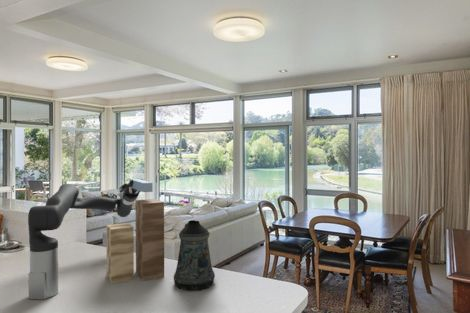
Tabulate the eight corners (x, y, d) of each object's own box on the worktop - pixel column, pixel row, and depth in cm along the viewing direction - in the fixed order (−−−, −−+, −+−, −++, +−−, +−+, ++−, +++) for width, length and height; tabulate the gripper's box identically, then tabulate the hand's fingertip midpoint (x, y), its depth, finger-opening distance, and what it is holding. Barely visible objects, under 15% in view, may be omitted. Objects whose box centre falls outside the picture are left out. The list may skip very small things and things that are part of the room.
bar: (152, 191, 149) (152, 182, 149) (143, 192, 147) (143, 183, 147) (137, 186, 170) (137, 179, 170) (129, 187, 167) (129, 179, 167)
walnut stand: (164, 276, 144) (164, 202, 144) (143, 280, 139) (143, 203, 139) (155, 268, 154) (155, 198, 154) (135, 272, 150) (135, 200, 149)
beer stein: (194, 295, 125) (194, 228, 125) (160, 283, 137) (160, 222, 136) (223, 281, 138) (222, 221, 138) (189, 271, 150) (189, 215, 150)
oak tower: (133, 279, 141) (133, 226, 141) (111, 283, 136) (111, 229, 136) (128, 271, 150) (127, 222, 149) (106, 275, 145) (106, 225, 145)
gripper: (114, 189, 174) (121, 174, 161) (142, 188, 181) (150, 173, 168) (116, 203, 171) (123, 189, 158) (144, 201, 178) (153, 187, 165)
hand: (137, 181), depth 163 cm, fingers closed on bar, 4 cm apart
